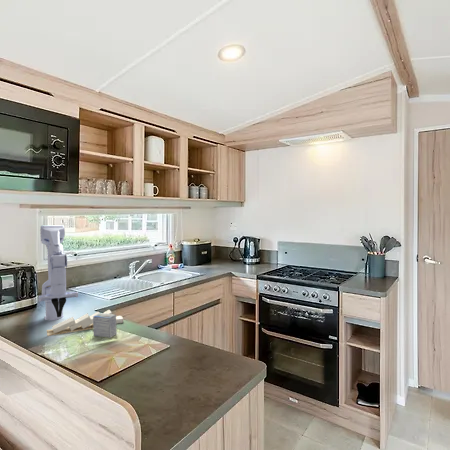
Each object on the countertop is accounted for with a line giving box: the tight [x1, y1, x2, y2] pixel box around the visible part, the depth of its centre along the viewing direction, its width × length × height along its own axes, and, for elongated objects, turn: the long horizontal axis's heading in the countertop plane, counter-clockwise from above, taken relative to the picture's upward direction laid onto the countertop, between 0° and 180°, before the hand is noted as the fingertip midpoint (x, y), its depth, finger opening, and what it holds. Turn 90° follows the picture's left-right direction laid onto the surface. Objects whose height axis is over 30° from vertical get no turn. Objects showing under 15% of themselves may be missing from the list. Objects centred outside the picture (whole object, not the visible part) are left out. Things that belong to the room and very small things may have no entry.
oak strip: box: [46, 324, 93, 337], centre depth 142 cm, size 8×24×1 cm, turn 121°
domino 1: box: [51, 316, 76, 334], centre depth 139 cm, size 5×2×8 cm
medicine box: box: [92, 312, 118, 338], centre depth 134 cm, size 8×4×9 cm, turn 74°
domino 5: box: [116, 315, 124, 325], centre depth 149 cm, size 5×2×8 cm
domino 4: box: [101, 309, 113, 314], centre depth 146 cm, size 5×2×8 cm
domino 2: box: [69, 312, 91, 331], centre depth 142 cm, size 5×2×8 cm
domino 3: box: [81, 311, 100, 329], centre depth 144 cm, size 5×2×8 cm
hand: (59, 316), depth 138 cm, fingers closed
